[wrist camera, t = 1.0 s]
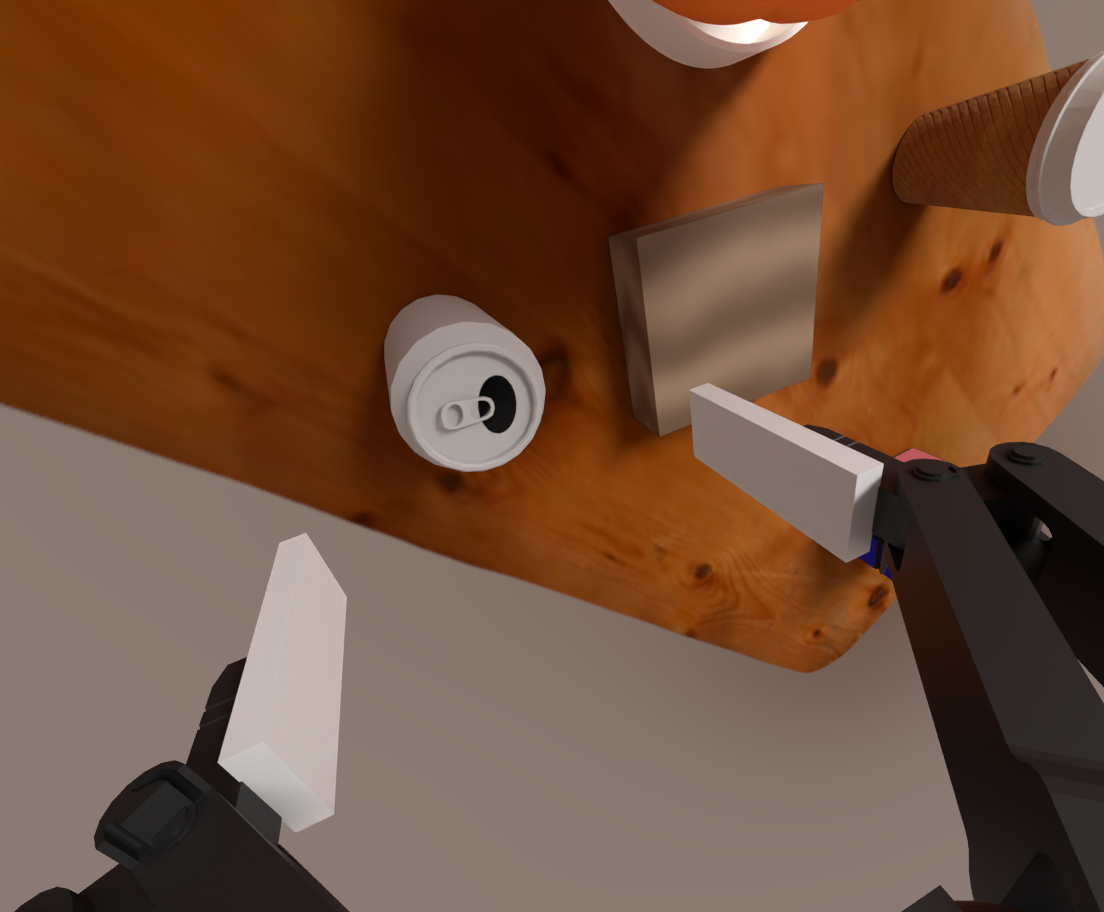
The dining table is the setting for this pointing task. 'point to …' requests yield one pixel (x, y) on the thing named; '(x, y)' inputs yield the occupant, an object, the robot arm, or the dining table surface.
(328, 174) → the dining table surface
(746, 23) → the potted cactus
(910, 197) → the disposable coffee cup
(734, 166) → the dining table surface
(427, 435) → the can
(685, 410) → the plinth
